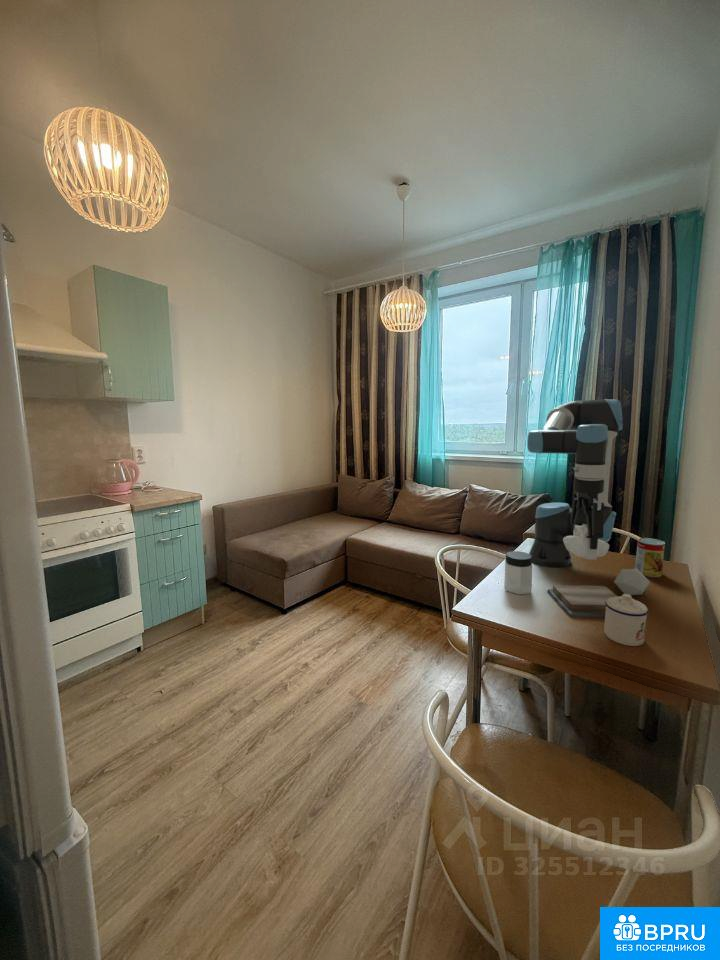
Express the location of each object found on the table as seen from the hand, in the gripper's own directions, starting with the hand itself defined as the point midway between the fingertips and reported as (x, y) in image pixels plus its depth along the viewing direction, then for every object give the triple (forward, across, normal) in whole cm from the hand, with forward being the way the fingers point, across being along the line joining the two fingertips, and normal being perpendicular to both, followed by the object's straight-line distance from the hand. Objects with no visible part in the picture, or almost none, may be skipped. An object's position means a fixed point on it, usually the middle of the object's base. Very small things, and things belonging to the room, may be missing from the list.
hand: (584, 553), depth 114 cm
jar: (+17, -11, -16) cm, 25 cm away
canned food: (+18, -27, +35) cm, 48 cm away
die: (+17, -9, +20) cm, 28 cm away
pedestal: (+17, -1, +3) cm, 17 cm away
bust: (+1, 0, 0) cm, 1 cm away
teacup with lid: (+17, +16, +4) cm, 23 cm away
